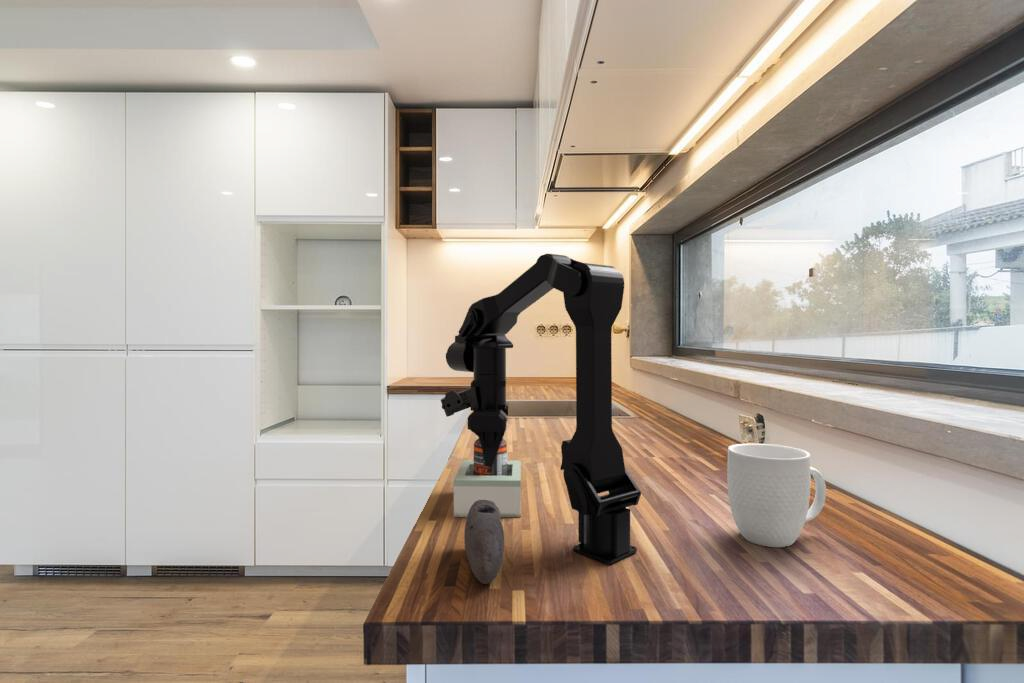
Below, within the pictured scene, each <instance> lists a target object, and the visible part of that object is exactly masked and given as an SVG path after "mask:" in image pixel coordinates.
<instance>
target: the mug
mask: <svg viewBox="0 0 1024 683" xmlns="http://www.w3.org/2000/svg"><path fill="white" fill-rule="evenodd" d="M726 465H727V466H726V468H727V470H726V472H727V473H726V477H727V480H726V481H727V484H726V485H727V498H728V502H729V506H730V512H731V515H732V518H733V521H734V523H735V525H736V527H737V529H738V530H739V532H740V534H741V535H742V537H743V538H744V539H745V540H746V541H748V542H749V543H752V544H754V543H755V544H754V545H757V544H758V546H761V545H762V547H766V546H767V547H768V548H787V547H791V546H792V545H793V544H794V543H795V542H796V541H797V539H798V538H799V537H800V534H801V532H802V530H803V528H804V525H805V523H807V522H809V521H811V520H813V519H815V517H817V516H818V515H819V514H820V513H821V511H822V509H823V507H824V505H825V502H826V497H827V487H826V486H827V485H826V482H825V478H824V477H823V475H822V473H821V472H820V471H819V470H817V469H816V468H814V467H812V466H811V454H810V452H808V451H807V450H804V449H802V448H799V447H797V448H796V447H793V446H789V445H782V444H772V443H770V444H769V443H755V442H753V443H749V442H748V443H738V444H731V445H729V446H728V448H727V464H726ZM812 477H813V479H814V484H815V493H814V494H815V496H814V500H813V502H812V504H811V506H810V499H811V498H810V496H811V489H812V488H811V485H812V484H811V481H812V479H811V478H812ZM809 506H810V507H809ZM786 546H787V547H786ZM767 547H766V548H767Z"/></svg>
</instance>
